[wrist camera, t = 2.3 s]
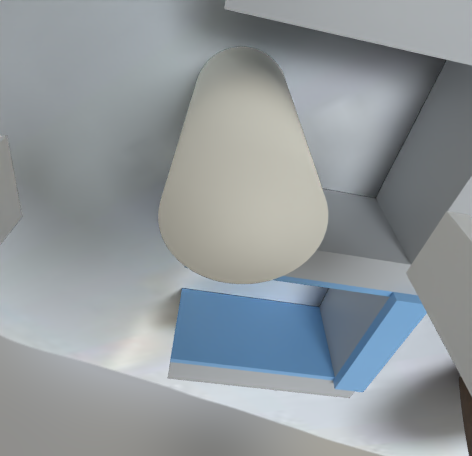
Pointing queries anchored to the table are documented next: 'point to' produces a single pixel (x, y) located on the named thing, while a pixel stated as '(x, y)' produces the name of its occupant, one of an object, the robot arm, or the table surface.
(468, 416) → the plant pot
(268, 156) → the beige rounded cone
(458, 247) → the robot arm
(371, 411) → the table surface
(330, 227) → the folding screen
